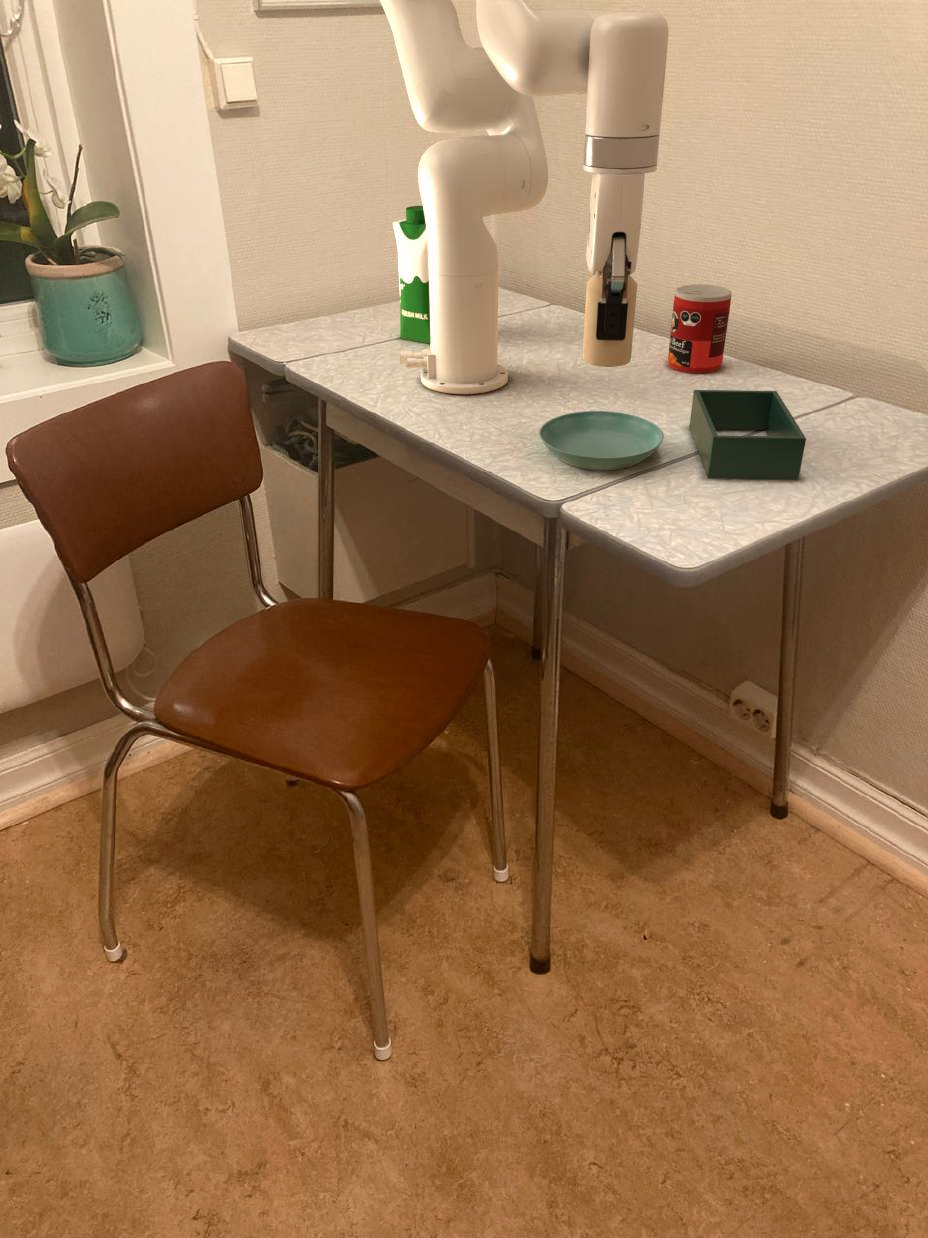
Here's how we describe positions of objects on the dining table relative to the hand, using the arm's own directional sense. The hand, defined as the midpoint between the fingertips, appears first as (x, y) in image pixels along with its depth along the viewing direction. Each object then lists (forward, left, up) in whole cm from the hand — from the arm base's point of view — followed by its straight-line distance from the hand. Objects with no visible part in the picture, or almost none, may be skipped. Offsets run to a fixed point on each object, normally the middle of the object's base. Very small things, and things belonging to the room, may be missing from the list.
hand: (608, 329), depth 108 cm
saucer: (0, 0, -15) cm, 15 cm away
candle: (0, 0, -4) cm, 4 cm away
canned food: (+16, +34, -15) cm, 41 cm away
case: (+17, +1, -15) cm, 23 cm away
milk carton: (-25, +48, -15) cm, 56 cm away
